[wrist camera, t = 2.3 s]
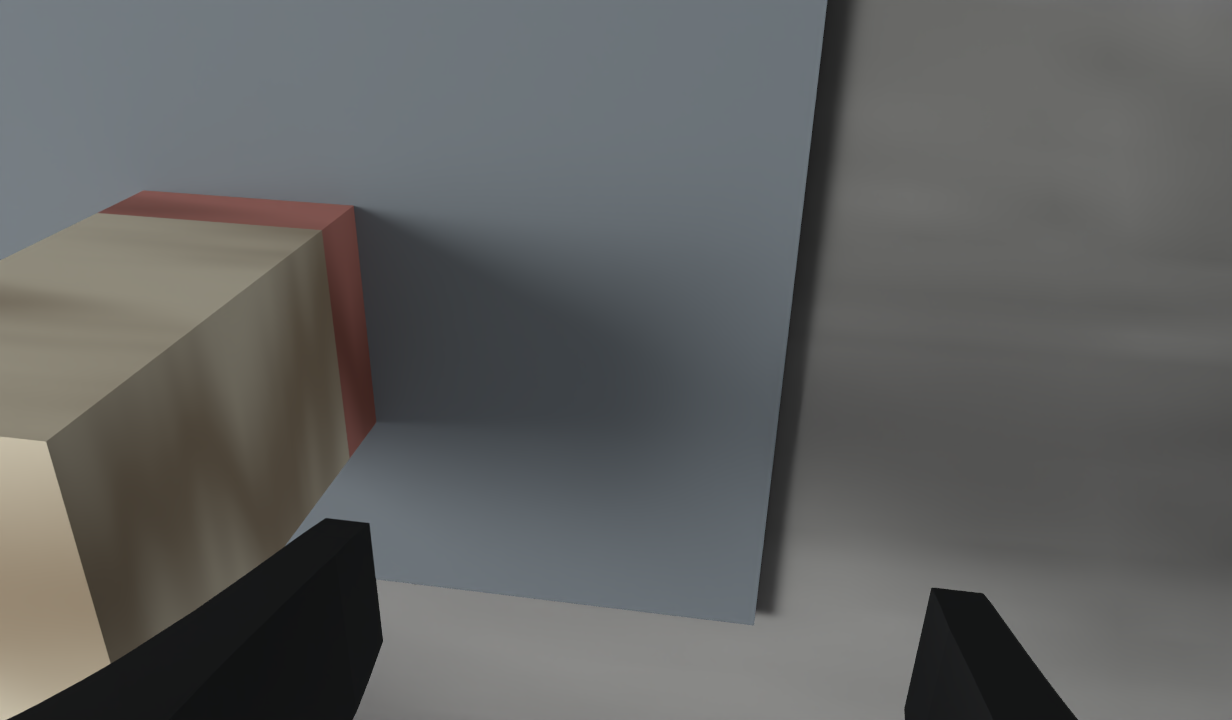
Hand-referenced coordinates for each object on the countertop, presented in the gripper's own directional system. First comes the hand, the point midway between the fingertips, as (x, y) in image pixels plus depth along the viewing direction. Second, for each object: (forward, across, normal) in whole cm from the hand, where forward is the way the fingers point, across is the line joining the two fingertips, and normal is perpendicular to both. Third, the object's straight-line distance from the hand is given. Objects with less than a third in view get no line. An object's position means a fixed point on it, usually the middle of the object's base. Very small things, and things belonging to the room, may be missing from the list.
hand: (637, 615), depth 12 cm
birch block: (+8, +9, 0) cm, 12 cm away
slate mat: (+8, +10, -1) cm, 13 cm away
